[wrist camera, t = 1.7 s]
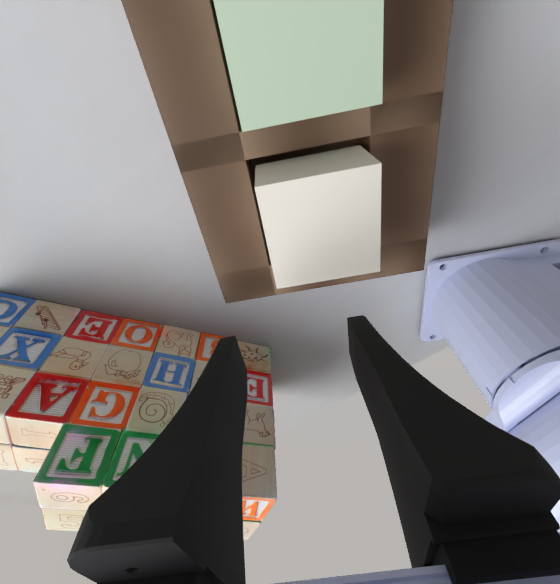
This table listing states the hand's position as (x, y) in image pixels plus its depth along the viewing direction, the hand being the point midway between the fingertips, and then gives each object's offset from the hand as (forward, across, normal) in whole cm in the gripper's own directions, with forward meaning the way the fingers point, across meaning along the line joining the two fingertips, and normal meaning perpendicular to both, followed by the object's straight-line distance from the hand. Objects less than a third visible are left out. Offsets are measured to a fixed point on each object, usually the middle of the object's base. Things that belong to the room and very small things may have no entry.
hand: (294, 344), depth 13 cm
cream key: (+7, -2, -3) cm, 8 cm away
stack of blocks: (+11, +13, +8) cm, 19 cm away
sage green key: (+7, -2, -10) cm, 12 cm away
